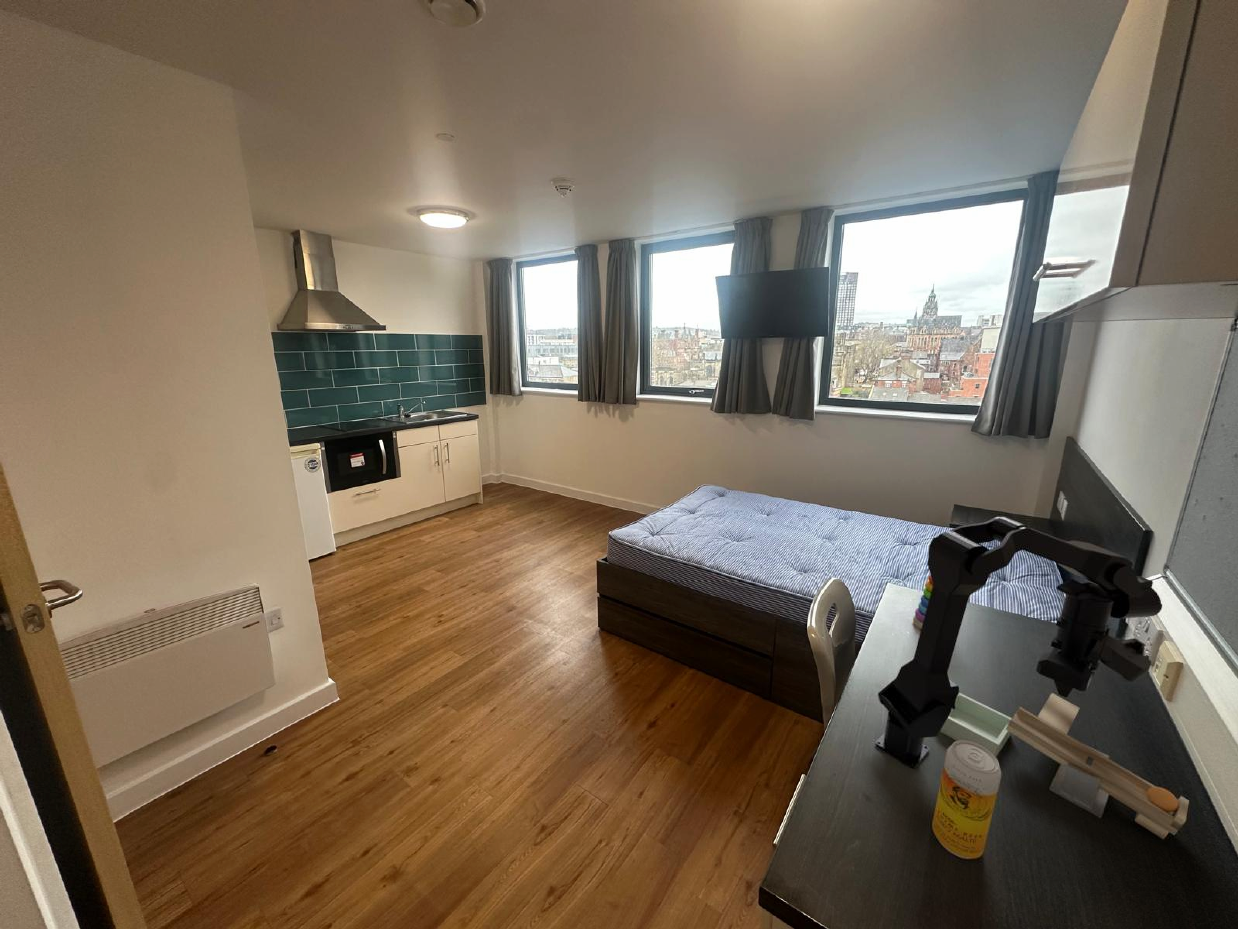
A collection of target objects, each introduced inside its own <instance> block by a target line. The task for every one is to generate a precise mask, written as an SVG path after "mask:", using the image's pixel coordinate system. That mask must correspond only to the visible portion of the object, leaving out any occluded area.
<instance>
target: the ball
mask: <svg viewBox="0 0 1238 929" xmlns="http://www.w3.org/2000/svg"><path fill="white" fill-rule="evenodd" d="M1147 797H1148V799H1149V801H1150V802H1151V803H1152V804H1153V805H1155V806H1157V807H1158V808H1160V809H1162V810H1163V811H1165V812H1173V811H1175V810H1177V808H1178V801H1177V799H1178V798H1177V797H1176V796H1175V795H1174V794H1173V793H1172V792H1171V791H1170V790H1168V789H1166V788H1163V787H1160V786H1156V787H1152V788H1150V789H1149V790H1148V791H1147Z"/></svg>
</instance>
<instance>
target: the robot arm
mask: <svg viewBox="0 0 1238 929" xmlns="http://www.w3.org/2000/svg"><path fill="white" fill-rule="evenodd" d="M993 541H997V542H999V543H1000V544H999V545H998V546H995V547H994V548H991V549H989V548H988V547H987V546H984V545H983V543H990V542H993ZM1021 551H1025V552H1027V553H1030V554H1032V555H1035V556H1038V557H1041V558H1043V559H1046V560H1049V561H1050V562H1054V563H1057V565H1058V566H1060V567H1062V568H1063V569H1065V571H1068V572H1069V573H1072V574H1074V575H1075V576H1078V577H1080V578H1082V579H1085V580H1086V581H1083V582H1082V581H1081V582H1080V581H1078V580H1076V579H1073V578H1071V579H1069V580H1067V581H1065V582H1062V583H1060V584H1058V585H1057V586H1056V587H1055V588H1056V590H1057V591H1059V592H1061V593H1063V594H1065V597H1064V601H1063V605H1062V608H1061V609H1062V610H1061V612H1060V616H1059V617H1058V618H1057V620H1056V624H1055V626H1056V627H1057V629H1056V632H1055V634H1054V635H1055V637H1053V638H1052V640H1051V644H1050V647H1051V648H1052V650H1051V651H1050V652H1046V653H1045V652H1044V653H1043V654H1042V656H1041V657H1040V659H1039V660H1038V662H1037V665H1036V673H1038V674H1039V675H1041V676H1043V677H1046V678H1049V679H1051V680H1053V682H1054V685H1055V688H1056V690H1057V694H1058V695H1059V696H1061V697H1063V698H1068V697H1069V695H1070V694H1071V692H1072V690H1073V689H1075V690H1077V691H1080V692H1087V689H1088V688H1089V686H1090V683H1091V681H1092V679H1093V678H1094V675H1095V671H1097V670H1098V667H1099V666H1100V662H1101V663H1102V664H1103V665H1104V666H1106V667H1108V668H1109V669H1110V670H1113V671H1114V672H1115V673H1117V674H1118V675H1120V676H1122V679H1124V680H1125V681H1128V682H1129V683H1135V682H1136V681H1137V680H1139V679H1140V678H1141V677H1142V676H1143V675H1145V674H1146V673H1147V672H1149V671H1150V667H1151V665H1152V660H1150V656H1149V655H1147V654H1146V655H1144V654H1145V648H1146V644H1145V643H1144V642H1142V641H1140V640H1139V639H1137V638H1135V637H1134V638H1128V639H1124V640H1122V639H1121V638H1118V639H1117V638H1114V637H1112V636H1111V635H1110V632H1111V628H1110V627H1109V620H1110V618H1113V619H1119V620H1120V619H1129V618H1130V619H1134V618H1135V619H1136V618H1149V617H1154V616H1157V615H1158V614H1159V613H1160V612H1161V610H1162V608H1163V604H1162V599H1161V597H1160V596H1159V594H1158V592H1157V591H1156V590H1155V589H1154V588H1153V584H1154V581H1153V580H1150V579H1147V578H1146V577H1143V576H1141V575H1136V572H1135V570H1134V568H1132V566H1133V565H1134V563H1133V561H1132V560H1131V559H1129V558H1127V557H1125V556H1123V555H1120V554H1119V553H1115V552H1112V551H1110V550H1108V549H1105V548H1102V547H1100V546H1097V545H1095V544H1092V543H1089V542H1086V541H1079V540H1069V541H1068V540H1064V539H1060V538H1057V537H1054V536H1052V535H1050V534H1047V533H1044V532H1041V531H1039V530H1036V529H1034V528H1031V527H1030V526H1029V525H1026V524H1024V523H1021V522H1020V521H1017V520H1015V519H1014V520H1013V519H1012V518H1009V517H1006V516H997V517H996V516H995V517H993V518H991V519H989V520H987V521H984V522H978V523H972V524H964V525H959V526H957V527H954V528H953V529H950V530H947V531H944V532H942V533H940V534H938V535H937V536H934V537H933V538H932V540H931V541H930V544H929V546H928V553H927V554H928V555H927V567H928V571H929V575H930V574H931V578H932V581H933V587H932V591H931V595H930V599H929V602H928V606H927V610H926V614H925V617H924V621H923V625H922V629H920V633H919V636H918V640H917V645H916V649H915V652H914V656H913V659H911V660H910V661H908V662H906V663H905V664H903V665H902V666H901V667H900V669H899V670H898V673H897V675H896V677H895V678H894V679H893V680H892V681H891V682H890V683H888V684H887V685H886V686H885V687H884V688H882V689H881V690H880V691H879V692H878V693H877V698H878V700H879V701H878V702H879V703H880V704H881V705H882V706H883V707H884V709H886V710H887V711H888V712H887V719H886V726H885V730H884V731H885V732H883V734H882V735H881V736H880V737H878V738H877V740H876V741H875V746H876V747H877V748H879V749H881V750H882V751H884V752H886V753H887V754H889V755H890V756H892V757H894V758H895V759H897V760H898V761H900V762H901V763H903V764H905V765H906V766H908V767H910V768H911V769H916V768H917V767H918V765H920V763H921V761H923V759H924V758H925V757H926V756H927V754H928V753H929V752H930V747H929V746H928V745H926V744H924V740H925V738H934V737H937V736H938V735H939V734H940V733H941V732H940V730H941V728H942V727H943V725H944V723H945V722H946V720H947V718H948V716H949V715H950V712H951V709H955V701H956V698H957V696H958V694H959V693H960V687H959V686H958V684H956V683H955V682H954V681H953V680H952V679H951V678H949V674H948V672H949V668H950V665H951V661H952V657H953V655H954V651H955V647H956V644H957V640H958V637H959V633H960V630H961V627H962V623H963V620H964V617H965V616H964V615H965V613H966V609H967V605H968V602H969V599H970V597H971V595H973V594H974V593H975V592H978V590H980V589H981V588H983V587H984V586H985V585H986V584H987V581H988V579H989V578H990V576H991V574H993V573H995V572H997V571H999V570H1002V569H1004V568H1006V567H1007V566H1009V564H1010V563H1011V561H1012V560H1013V558H1014V557H1015V555H1016V553H1018V552H1021ZM1088 581H1089V582H1088Z"/></svg>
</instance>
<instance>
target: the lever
mask: <svg viewBox="0 0 1238 929" xmlns="http://www.w3.org/2000/svg"><path fill="white" fill-rule="evenodd" d="M1080 709H1081V708H1080V707H1079V706H1077V705H1075V704H1073V703H1071V702H1069V701H1068V700H1066V699H1064V698H1062V697H1060V695H1059V696H1058V695H1057V694H1055V693H1053V692H1051V693H1050V695H1049V697H1048V699H1047V700H1046V702H1045V704H1044V705H1043V707H1042V709H1041V710H1040V712H1039V714H1038V715H1037V716H1036V715H1035V714H1033V713H1032V712H1030V711H1028V710H1027V709H1025V708H1023V707H1021V706H1019V707H1018V708H1017V710H1016V712H1015V714H1014V715H1013V717H1011V718H1012V719H1011V720H1010V722H1009V724H1008V726H1007V728H1006V730H1007V731H1009V732H1011V734H1012V735H1014V736H1016V737H1017V738H1019V739H1021V741H1024V742H1025V743H1027V744H1028V745H1030V746H1031V747H1033V748H1035V749H1036V750H1038V751H1039V752H1041V753H1042V754H1044V755H1045V756H1047V757H1048V758H1051V759H1052V760H1054V761H1055V762H1057V763H1059V764H1060V765H1061V764H1062V765H1063V766H1065V767H1066V768H1067V766H1068V763H1069V764H1071V765H1073V766H1075V767H1077V768H1079V769H1081V770H1083V771H1085V772H1087V773H1089V774H1091V775H1093V776H1095V777H1097V778H1099V779H1100V782H1099V785H1098V788H1100V789H1101V790H1103V791H1105V792H1106V793H1108V794H1109V795H1110V796H1111V797H1112V798H1114V799H1115V800H1118V801H1119V802H1121V803H1122V804H1124V805H1125V806H1127V807H1129V808H1130V809H1132V810H1133V811H1135V812H1136V814H1135V818H1134V822H1136V823H1137V824H1139V825H1140V826H1142V827H1144V828H1145V829H1147V830H1149V832H1151V833H1153V834H1155V835H1156V836H1158V837H1159V838H1161V839H1162V840H1165V838H1166V837H1167V836H1168V834H1169V833H1170V834H1172V836H1173V835H1174V836H1175V835H1176V834H1177V833H1178V832H1179V830H1180V829H1181V828H1182V826H1184V824H1185V823H1186V821H1187V815H1188V809H1189V803H1190V800H1188V799H1186V797H1184V796H1182V795H1180V797H1178V798H1176V799H1177V801H1178V808H1177V810H1175V811H1173V812H1165V811H1163V810H1162V809H1160V808H1158V807H1157V806H1155V805H1153V804H1152V803H1151V802H1150V801H1149V799H1148V797H1147V791H1148V790H1149V789H1150V788H1152V787H1157V786H1155V785H1154V784H1152V783H1150V782H1149V781H1147V780H1145V779H1143V778H1142V777H1141V776H1139V775H1137V774H1135V773H1133V772H1132V771H1130V770H1129V769H1128V768H1127V769H1126V768H1125V767H1124V766H1121V765H1120V764H1118V763H1116V762H1115V761H1113V760H1111V759H1110V758H1106V757H1105V756H1103V755H1101V754H1100V753H1098V752H1096V751H1094V750H1093V749H1094V748H1093V749H1091V748H1092V747H1091V748H1089V747H1090V746H1089V745H1087V744H1085V743H1083V742H1081V741H1079V740H1077V739H1076V738H1074V737H1072V736H1070V735H1069V734H1068V733H1069V731H1070V728H1071V727H1072V725H1073V723H1074V721H1075V718H1076V716H1077V714H1078V712H1079V710H1080ZM1082 743H1083V744H1082ZM1084 744H1085V745H1084ZM1086 745H1087V746H1086ZM1088 746H1089V747H1088Z"/></svg>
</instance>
